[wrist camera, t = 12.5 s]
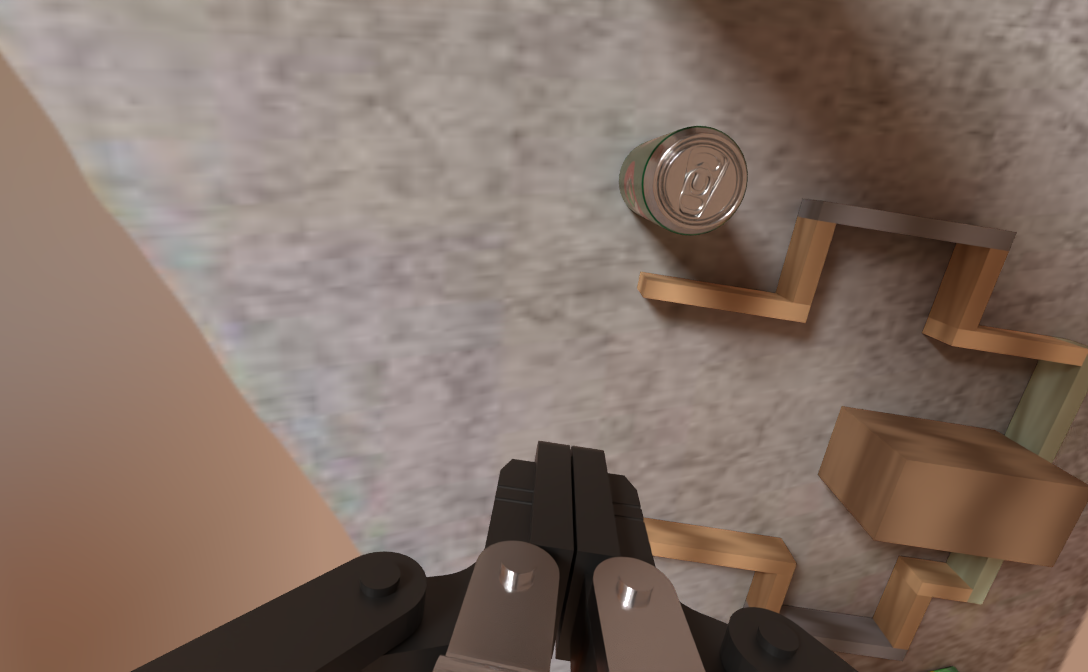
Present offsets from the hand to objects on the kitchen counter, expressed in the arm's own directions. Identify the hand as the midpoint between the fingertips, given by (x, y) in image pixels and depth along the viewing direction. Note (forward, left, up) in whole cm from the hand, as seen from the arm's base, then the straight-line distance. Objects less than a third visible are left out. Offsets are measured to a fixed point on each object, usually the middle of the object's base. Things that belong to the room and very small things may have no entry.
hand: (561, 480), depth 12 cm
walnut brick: (+5, +30, -27) cm, 41 cm away
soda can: (-8, +4, -27) cm, 29 cm away
